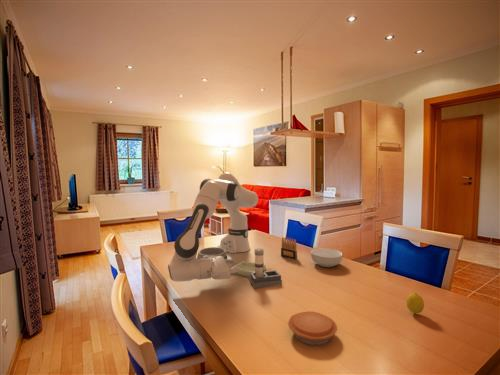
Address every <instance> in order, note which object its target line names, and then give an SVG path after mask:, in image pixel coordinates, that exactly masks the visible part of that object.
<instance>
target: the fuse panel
mask: <svg viewBox="0 0 500 375" xmlns="http://www.w3.org/2000/svg"><path fill="white" fill-rule="evenodd" d="M249 281H250V283H251V285H252V286H253V288H254V289H259V288H260V289H261V288H265V287H266V288H268V287H274V286H281V285H282V284H283V281H282V275H281V274H280V273H279V272H278V271H277V270H276V269H275V270H267V271H266V270H265V271H264V277H257V278H256V277H255V273H250V277H249Z"/></svg>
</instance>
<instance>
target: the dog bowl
mask: <svg viewBox="0 0 500 375" xmlns="http://www.w3.org/2000/svg"><path fill="white" fill-rule="evenodd" d="M203 256H208V257H210V256H223V257H224V259H226V258H228V254H227V252H226V251H225V249H223V248H218V246H216V247H215V246H214V247H213V246H212V247H205V248H202V249H200V250H198V251H197V255H196V258H197V259H202V258H203Z"/></svg>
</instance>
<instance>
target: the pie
mask: <svg viewBox="0 0 500 375" xmlns="http://www.w3.org/2000/svg"><path fill="white" fill-rule="evenodd" d="M287 324H288V327H289V329H290V331H291V332H292V333H293V335H294V336H295V337H296V339H297V340H298V341H300V342H301V343H303V344H306V345H309V346H321V345H324V344H327V343H328V342H329V341H330V340H331V339H332V337H333V336H334V335H335V334H336V332H337V331H338V325H337V324H336V322H335V321H334V320H333V319H332V318H331V317H329V316H327V315H326V314H323V313H320V312H316V311H302V312H298V313H295V314H292V315H291V316H290V318H289V320H288V323H287Z"/></svg>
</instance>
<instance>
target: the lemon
mask: <svg viewBox="0 0 500 375" xmlns="http://www.w3.org/2000/svg"><path fill="white" fill-rule="evenodd" d="M406 307H407V309H408V311H410V312H411V313H413V314H414V315H417V314H420V313H422V312H423V311H424V307H425V303H424V298H423V297H422V296H421V295H420V294H418V292H417V293H416V292H413V293H410V294H409V295H408V296H407V298H406Z"/></svg>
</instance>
